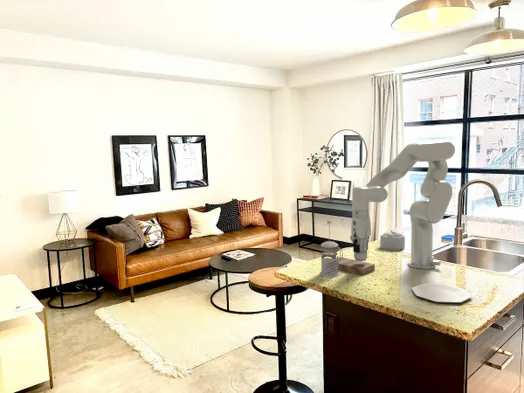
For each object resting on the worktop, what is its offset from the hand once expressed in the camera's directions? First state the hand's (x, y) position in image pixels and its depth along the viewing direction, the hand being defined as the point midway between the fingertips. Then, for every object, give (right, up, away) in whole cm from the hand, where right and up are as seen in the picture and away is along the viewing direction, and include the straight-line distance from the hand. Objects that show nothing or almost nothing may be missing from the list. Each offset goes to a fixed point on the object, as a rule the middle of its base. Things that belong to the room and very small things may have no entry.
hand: (360, 250), depth 182 cm
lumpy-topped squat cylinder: (+29, -4, +42) cm, 51 cm away
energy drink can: (0, -5, +1) cm, 5 cm away
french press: (-14, -10, -2) cm, 18 cm away
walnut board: (-4, -9, +4) cm, 11 cm away
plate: (+23, -13, -33) cm, 42 cm away
